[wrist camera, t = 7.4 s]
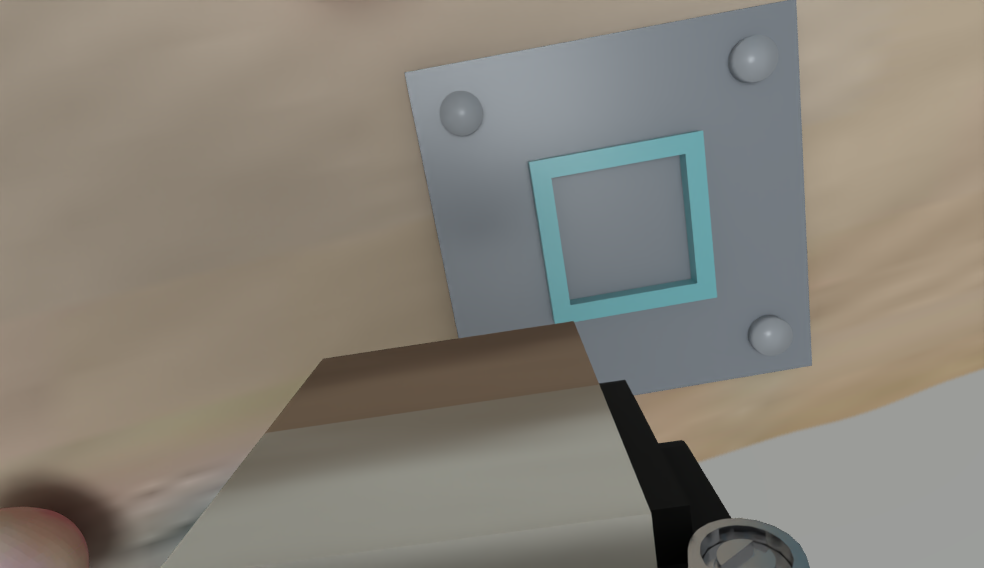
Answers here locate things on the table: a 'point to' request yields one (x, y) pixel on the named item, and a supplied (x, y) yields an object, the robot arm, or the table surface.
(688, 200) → the baseplate
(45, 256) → the table surface
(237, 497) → the smooth beige block
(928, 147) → the table surface
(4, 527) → the decorative fruit
